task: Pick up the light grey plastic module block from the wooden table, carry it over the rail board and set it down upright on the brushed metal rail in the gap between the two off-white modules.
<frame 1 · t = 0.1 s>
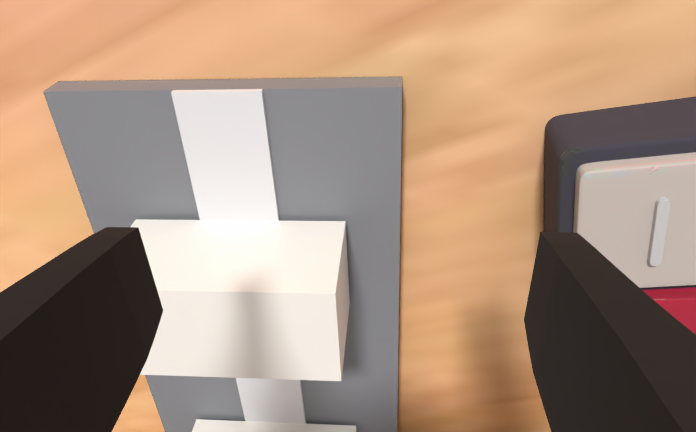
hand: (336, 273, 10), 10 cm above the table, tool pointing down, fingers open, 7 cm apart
mounted modules: (255, 403, 23), on the rail board, point 3 cm above the table
rail board: (270, 347, 26), on the table
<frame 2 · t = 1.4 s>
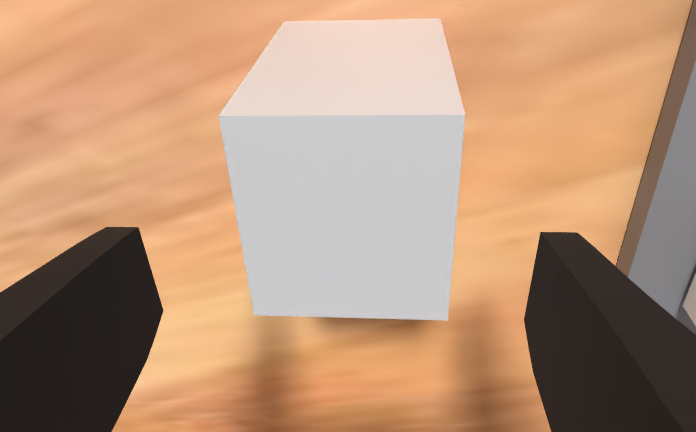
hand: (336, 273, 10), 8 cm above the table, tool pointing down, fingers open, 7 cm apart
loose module: (363, 102, 17), on the table
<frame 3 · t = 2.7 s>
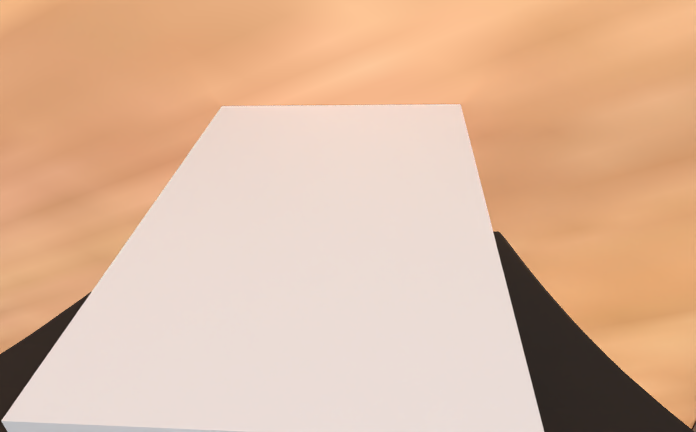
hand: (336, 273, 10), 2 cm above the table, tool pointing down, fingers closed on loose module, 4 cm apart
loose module: (344, 216, 12), on the table, touching gripper
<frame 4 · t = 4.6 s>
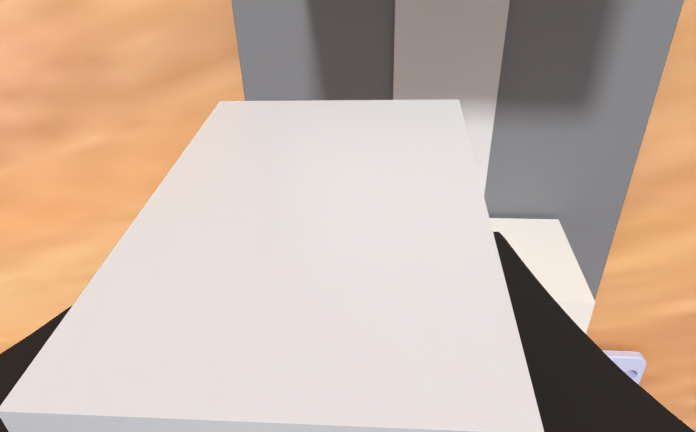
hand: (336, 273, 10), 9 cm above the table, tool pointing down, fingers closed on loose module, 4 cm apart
mounted modules: (449, 132, 14), on the rail board, point 3 cm above the table
rail board: (441, 88, 17), on the table
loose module: (342, 212, 12), point 7 cm above the table, touching gripper
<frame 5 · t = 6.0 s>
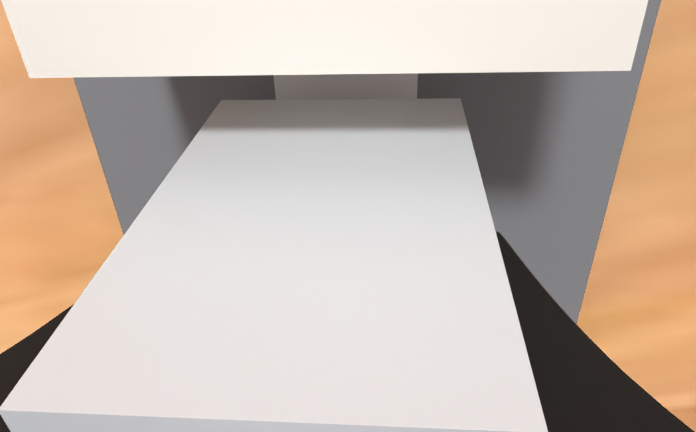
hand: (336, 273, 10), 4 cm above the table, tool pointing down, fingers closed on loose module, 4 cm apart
mounted modules: (342, 234, 11), on the rail board, point 3 cm above the table
rail board: (352, 161, 14), on the table
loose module: (344, 211, 12), point 3 cm above the table, touching gripper
when the fingers open (4 cm above the table, at t = 6.8 s): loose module drops 1 cm, resting on rail board.
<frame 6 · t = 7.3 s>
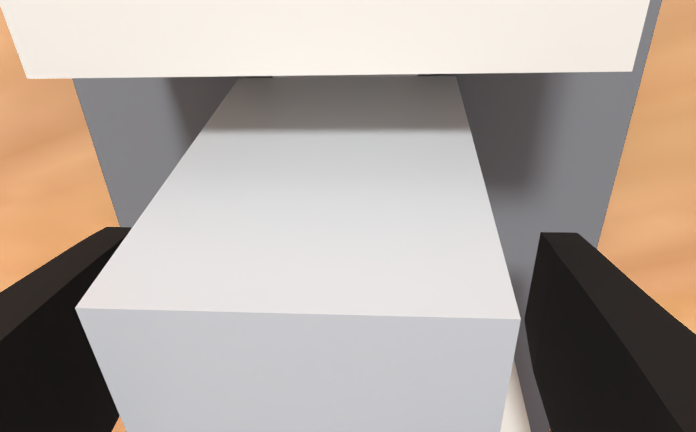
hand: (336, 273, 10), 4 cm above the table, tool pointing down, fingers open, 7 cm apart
mounted modules: (341, 235, 11), on the rail board, point 3 cm above the table
rail board: (352, 161, 14), on the table
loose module: (349, 182, 13), point 1 cm above the table, touching rail board
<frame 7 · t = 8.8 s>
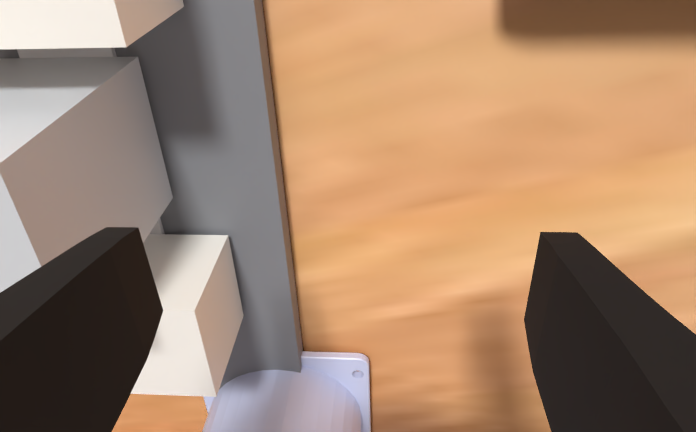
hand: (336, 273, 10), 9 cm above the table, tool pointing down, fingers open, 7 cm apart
mounted modules: (60, 163, 16), on the rail board, point 3 cm above the table
rail board: (107, 120, 19), on the table
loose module: (91, 132, 18), point 1 cm above the table, touching rail board
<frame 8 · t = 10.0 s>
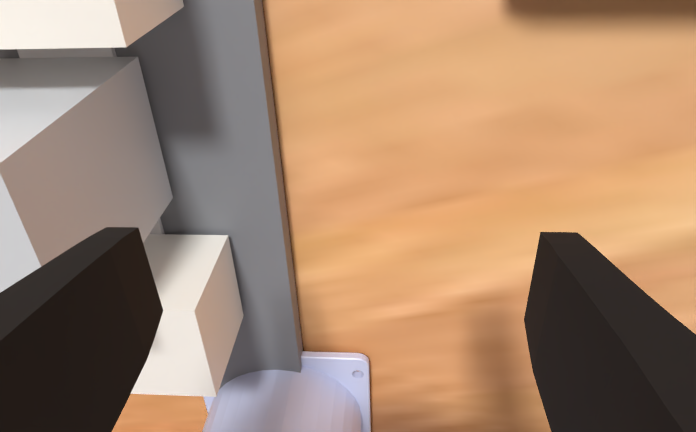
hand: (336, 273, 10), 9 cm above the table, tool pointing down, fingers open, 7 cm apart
mounted modules: (60, 163, 16), on the rail board, point 3 cm above the table
rail board: (107, 120, 19), on the table
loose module: (91, 132, 18), point 1 cm above the table, touching rail board
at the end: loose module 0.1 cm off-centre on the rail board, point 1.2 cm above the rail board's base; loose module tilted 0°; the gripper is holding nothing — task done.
